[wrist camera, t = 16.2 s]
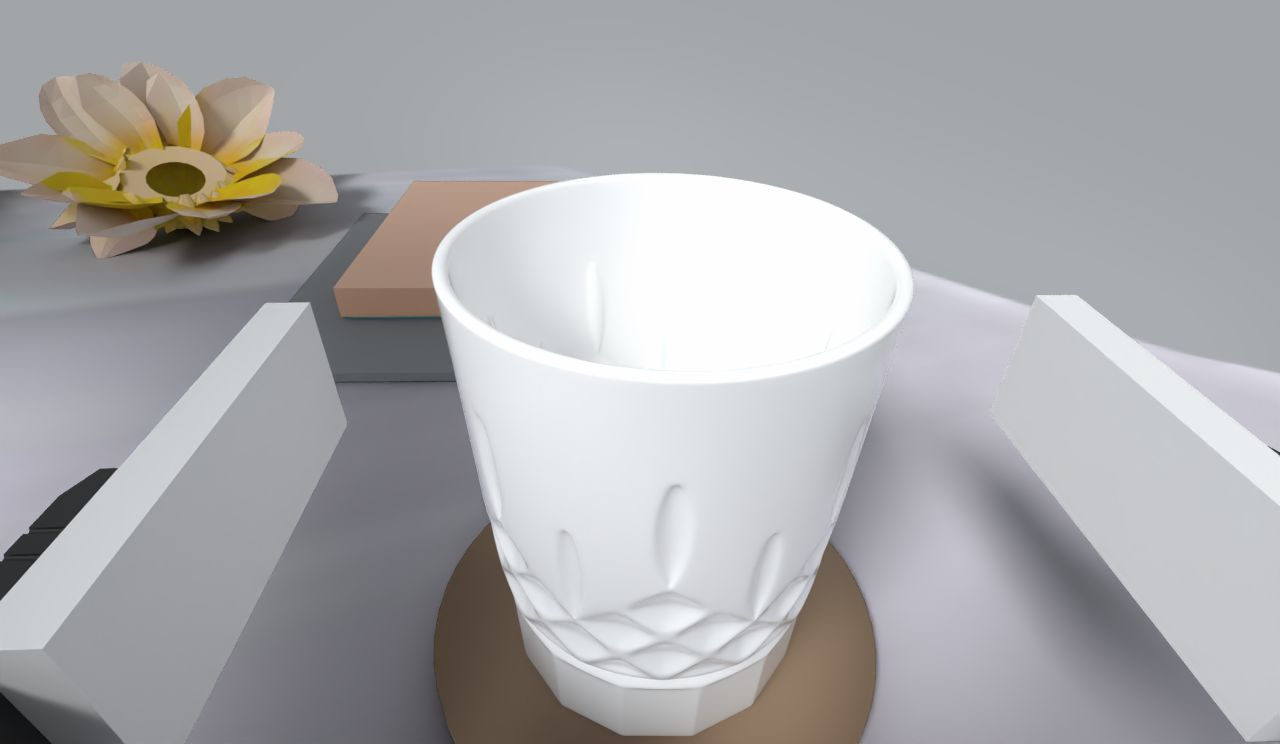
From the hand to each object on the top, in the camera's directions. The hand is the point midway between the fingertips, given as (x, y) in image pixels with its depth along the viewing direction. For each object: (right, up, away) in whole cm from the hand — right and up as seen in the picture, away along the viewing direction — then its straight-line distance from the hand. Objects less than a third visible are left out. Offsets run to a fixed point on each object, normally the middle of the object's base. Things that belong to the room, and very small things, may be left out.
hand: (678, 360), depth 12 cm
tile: (-8, +3, +16) cm, 18 cm away
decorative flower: (-26, +7, +25) cm, 37 cm away
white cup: (0, -6, +5) cm, 8 cm away
